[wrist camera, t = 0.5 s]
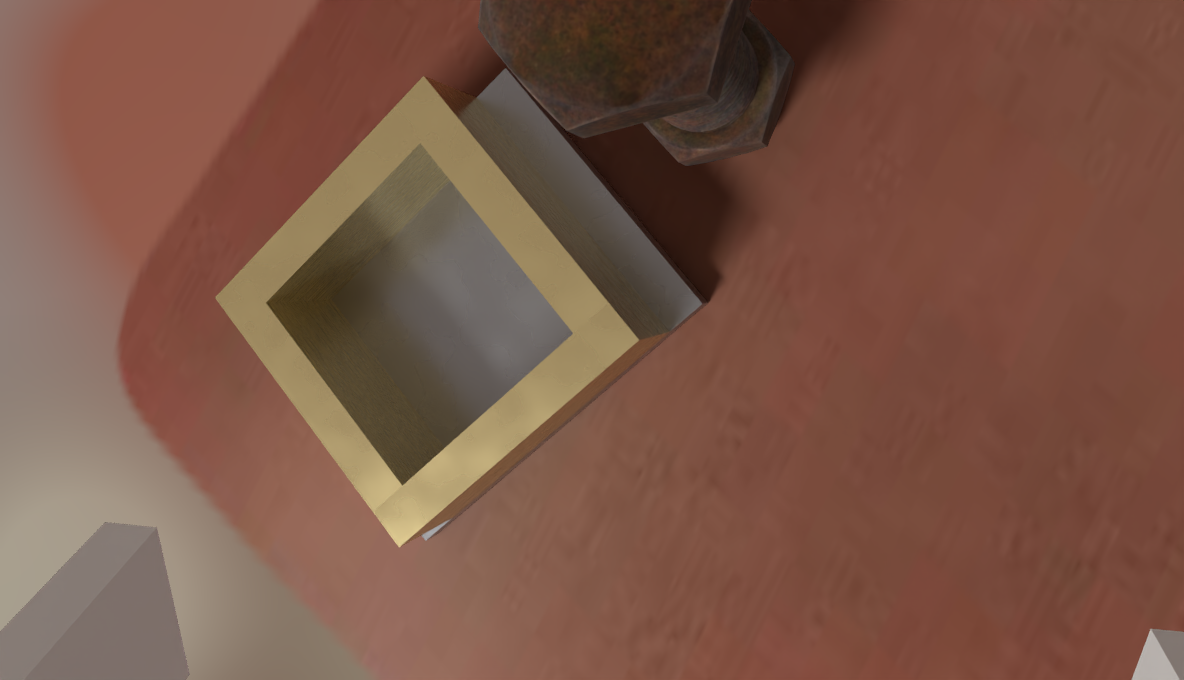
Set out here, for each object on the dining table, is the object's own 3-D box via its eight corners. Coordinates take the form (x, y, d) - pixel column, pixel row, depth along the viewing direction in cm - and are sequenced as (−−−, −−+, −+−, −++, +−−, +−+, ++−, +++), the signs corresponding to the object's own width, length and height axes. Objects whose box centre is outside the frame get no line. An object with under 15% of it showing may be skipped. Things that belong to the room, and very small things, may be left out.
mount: (516, 73, 35) (455, 42, 30) (708, 302, 33) (675, 308, 28) (276, 318, 39) (189, 324, 34) (438, 533, 37) (370, 572, 32)
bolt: (776, 211, 32) (678, 165, 18) (640, 168, 34) (449, 93, 19) (835, 42, 31) (781, -150, 17) (692, 5, 33) (532, -201, 18)
